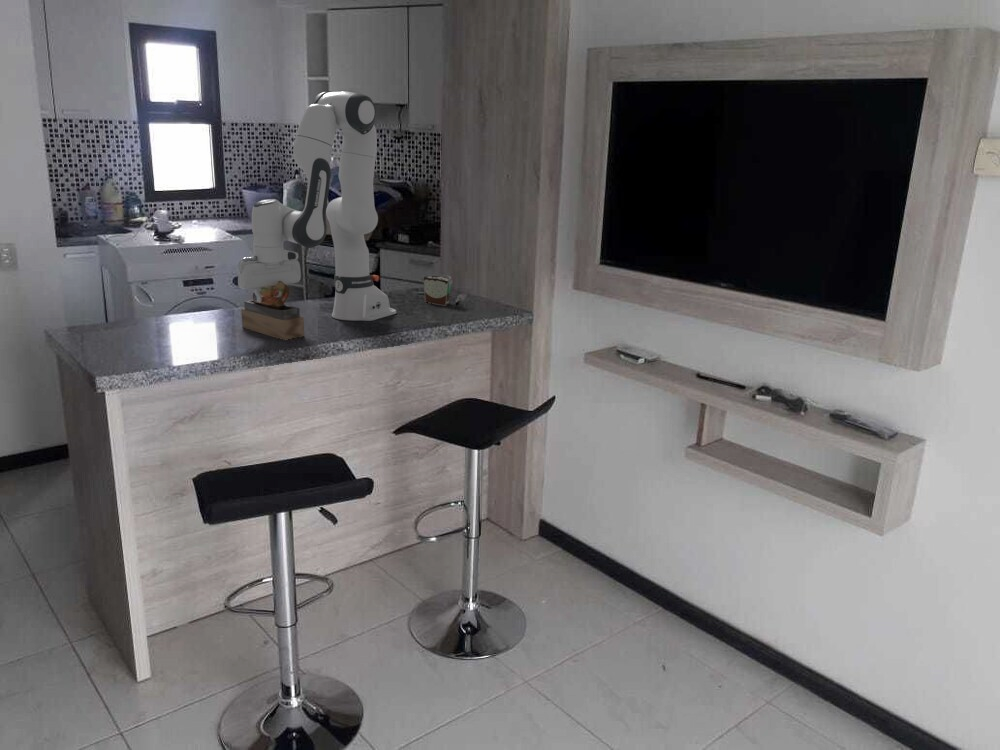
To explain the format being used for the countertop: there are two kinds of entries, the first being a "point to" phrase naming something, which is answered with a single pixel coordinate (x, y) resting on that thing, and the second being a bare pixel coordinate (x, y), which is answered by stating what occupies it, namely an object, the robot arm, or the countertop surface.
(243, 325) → the open rectangular box
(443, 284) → the food container
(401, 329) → the countertop surface
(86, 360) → the countertop surface
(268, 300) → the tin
